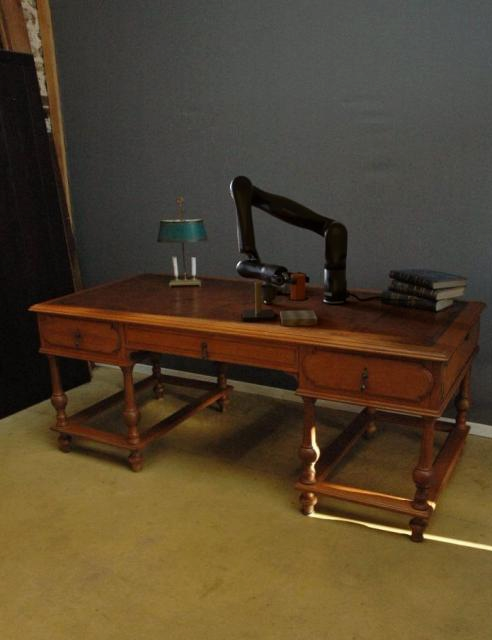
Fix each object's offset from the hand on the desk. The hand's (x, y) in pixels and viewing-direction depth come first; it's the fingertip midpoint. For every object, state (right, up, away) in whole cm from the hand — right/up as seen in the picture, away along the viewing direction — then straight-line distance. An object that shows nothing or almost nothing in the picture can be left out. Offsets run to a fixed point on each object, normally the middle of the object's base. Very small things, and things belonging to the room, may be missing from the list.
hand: (302, 281), depth 244 cm
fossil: (-6, +6, +58) cm, 58 cm away
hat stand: (-16, -11, +15) cm, 25 cm away
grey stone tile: (-1, -14, +8) cm, 16 cm away
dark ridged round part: (-12, -4, +34) cm, 37 cm away
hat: (-1, -6, +4) cm, 8 cm away
